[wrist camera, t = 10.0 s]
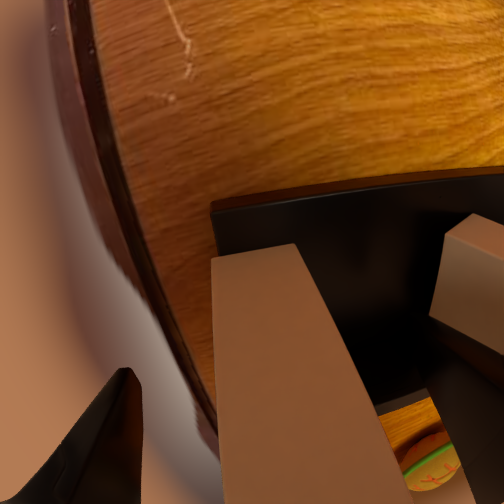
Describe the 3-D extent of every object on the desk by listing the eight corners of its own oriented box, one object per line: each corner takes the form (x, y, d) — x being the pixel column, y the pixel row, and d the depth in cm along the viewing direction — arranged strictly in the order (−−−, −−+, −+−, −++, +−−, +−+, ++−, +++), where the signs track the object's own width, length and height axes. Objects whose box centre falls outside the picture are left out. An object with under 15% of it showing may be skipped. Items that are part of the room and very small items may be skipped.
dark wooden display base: (247, 370, 14) (258, 446, 10) (209, 201, 10) (209, 267, 6) (522, 286, 14) (559, 323, 11) (549, 164, 10) (602, 191, 7)
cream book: (237, 365, 12) (266, 565, 5) (210, 257, 10) (229, 553, 3) (302, 353, 12) (362, 544, 5) (294, 241, 10) (417, 507, 3)
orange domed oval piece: (466, 409, 22) (490, 451, 17) (416, 460, 26) (432, 496, 21) (415, 426, 20) (439, 477, 16) (366, 475, 25) (380, 516, 20)
